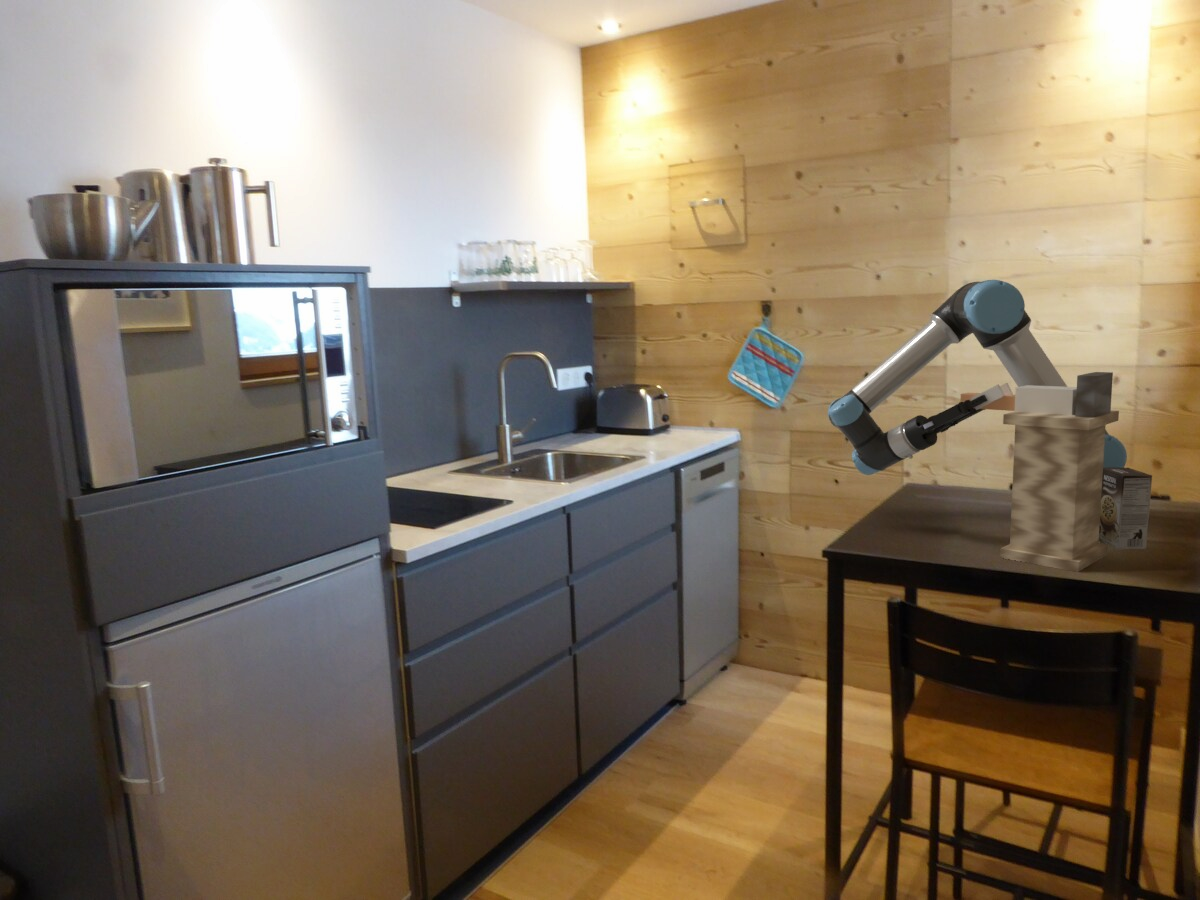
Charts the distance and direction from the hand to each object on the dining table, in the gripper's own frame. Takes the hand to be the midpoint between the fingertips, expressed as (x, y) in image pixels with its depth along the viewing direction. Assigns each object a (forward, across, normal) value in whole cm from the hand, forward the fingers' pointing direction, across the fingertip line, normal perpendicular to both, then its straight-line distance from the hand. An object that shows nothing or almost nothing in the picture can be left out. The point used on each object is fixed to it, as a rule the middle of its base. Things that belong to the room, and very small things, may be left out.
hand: (1005, 389), depth 184 cm
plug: (+1, 0, -5) cm, 5 cm away
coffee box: (-1, -18, -39) cm, 43 cm away
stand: (-7, 0, -35) cm, 36 cm away
